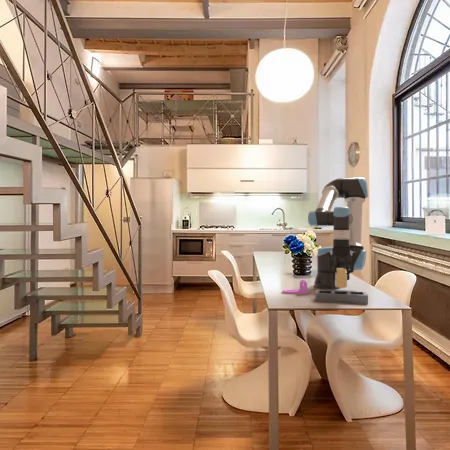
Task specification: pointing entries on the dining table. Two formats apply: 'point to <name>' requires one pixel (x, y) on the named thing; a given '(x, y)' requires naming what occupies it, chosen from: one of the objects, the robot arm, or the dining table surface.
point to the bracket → (301, 291)
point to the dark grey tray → (341, 296)
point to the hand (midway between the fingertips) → (340, 286)
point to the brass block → (341, 278)
